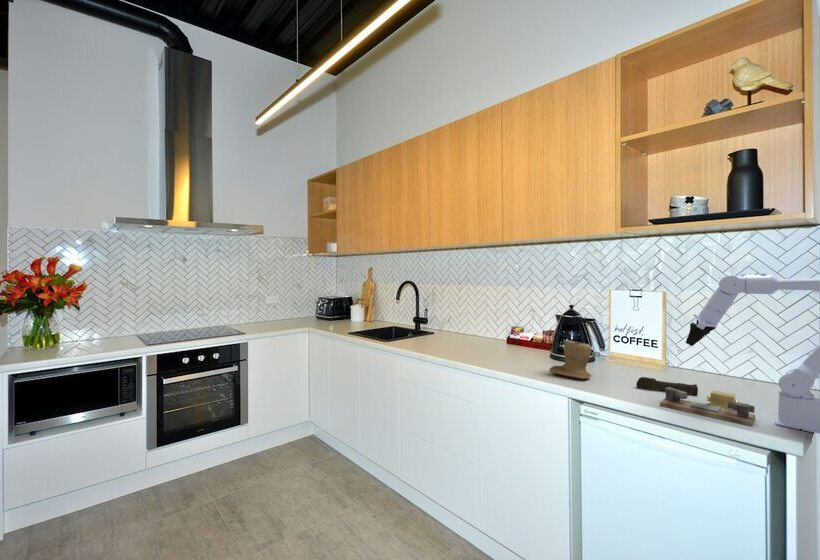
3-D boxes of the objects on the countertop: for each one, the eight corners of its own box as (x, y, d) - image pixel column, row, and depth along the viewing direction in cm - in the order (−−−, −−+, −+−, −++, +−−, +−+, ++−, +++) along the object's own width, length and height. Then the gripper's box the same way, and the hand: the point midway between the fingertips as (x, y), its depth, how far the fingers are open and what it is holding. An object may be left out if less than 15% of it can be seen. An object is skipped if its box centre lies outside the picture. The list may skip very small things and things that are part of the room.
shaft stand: (755, 418, 117) (755, 403, 117) (752, 426, 112) (752, 409, 112) (666, 400, 134) (666, 386, 134) (660, 405, 128) (660, 391, 128)
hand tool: (696, 394, 141) (696, 381, 141) (698, 397, 138) (698, 384, 138) (636, 386, 150) (636, 374, 150) (636, 389, 147) (636, 377, 147)
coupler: (739, 408, 126) (739, 395, 126) (737, 412, 123) (738, 398, 123) (708, 402, 132) (709, 389, 132) (706, 405, 129) (706, 392, 129)
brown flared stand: (596, 377, 162) (596, 341, 162) (584, 382, 154) (585, 345, 154) (560, 370, 173) (561, 336, 173) (548, 375, 165) (548, 340, 164)
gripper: (706, 300, 134) (684, 332, 140) (697, 304, 124) (673, 339, 130) (729, 311, 130) (705, 343, 135) (721, 316, 120) (696, 351, 125)
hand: (691, 342), depth 132 cm, fingers open, 7 cm apart
